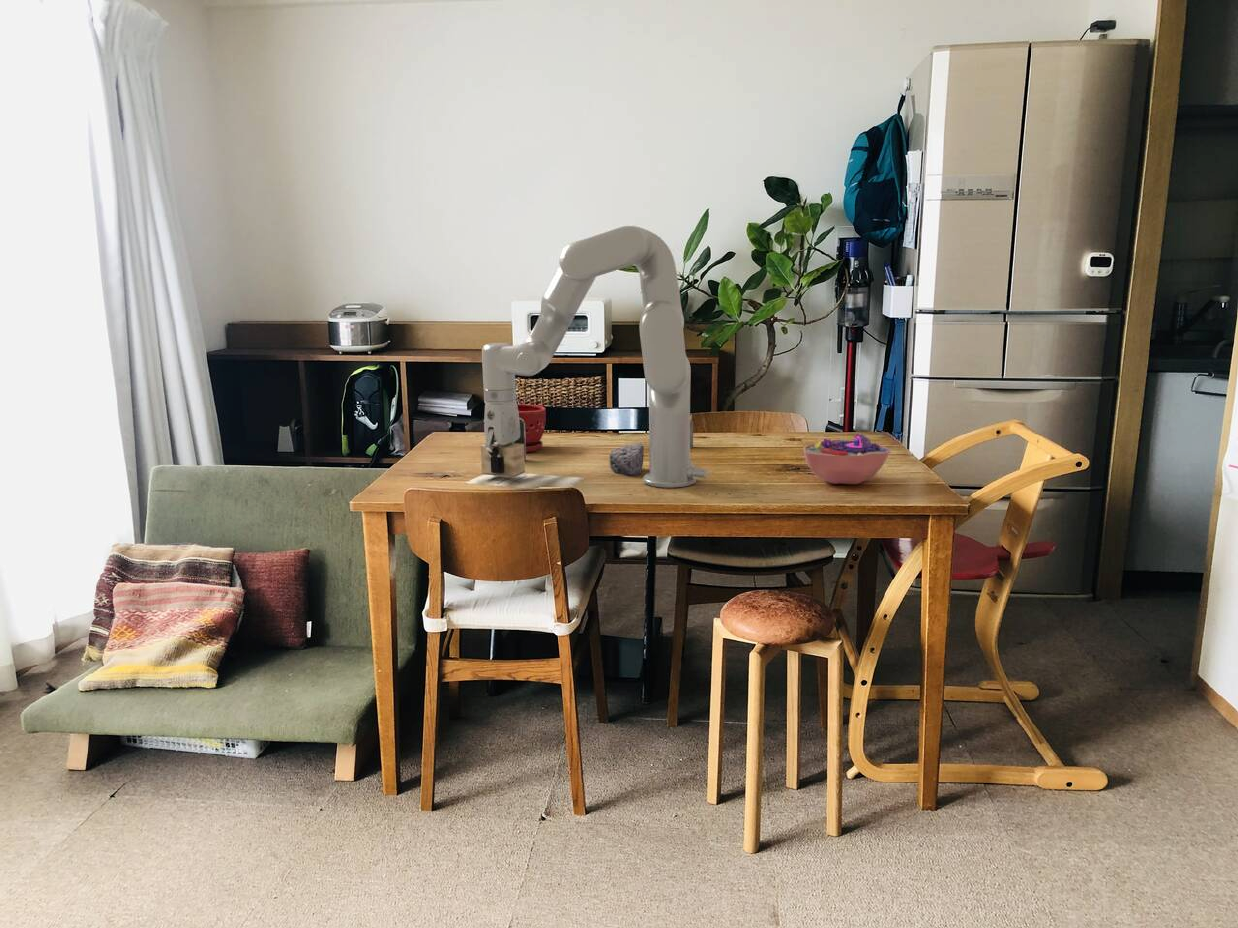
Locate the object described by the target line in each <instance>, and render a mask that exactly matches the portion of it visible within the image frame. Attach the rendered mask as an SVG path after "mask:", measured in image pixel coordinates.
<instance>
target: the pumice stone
mask: <svg viewBox="0 0 1238 928" xmlns="http://www.w3.org/2000/svg"><path fill="white" fill-rule="evenodd" d="M644 447H645V446H644V445H643V444H641V443H634V444H630V445H622V446H620V447H618V448H615V449H613V450H611V451H610V453H609V467H610V469H611V470H612V472H614V473H615V474H621V475H626V476H632V477H637V476H639V475H641V473H642V470H643V464H644V455H645V454H644Z"/></svg>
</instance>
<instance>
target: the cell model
mask: <svg viewBox="0 0 1238 928" xmlns="http://www.w3.org/2000/svg"><path fill="white" fill-rule="evenodd" d="M891 451H892V450H891V448H889V447H887V446H885V445H882V444H879V443H876V442H875V443H874V442H871V439H870V438H869V437H868V436H866V435H864V434H863V433H862V434H861V433H857V434H856V435H855V437H854V440H844V439H834V440H831V439H830V438H829V439H827V438H823V441H817V442H815V443H812V444H806V445H804V446H803V455H804V461H805V463H806V464H807V466H808V467H809V469H810V470H811V472H812V473H813V474H814V475H815V476H816V477H818V478H819V479H821V480H822V481H825V482H827V483H829V484H835V485H840V484H841V485H842V484H844V485H858V484H861V483H864V482H865V481H867V480H870V479H871V478H873V477H875V476H876V475H877V473H878V472H879V471H880V470H881V469H882V467H883V466H884V464H885V462H886V461H887V459H888V457H889V455H890V453H891Z"/></svg>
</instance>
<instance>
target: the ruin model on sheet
mask: <svg viewBox="0 0 1238 928" xmlns="http://www.w3.org/2000/svg"><path fill="white" fill-rule="evenodd" d="M692 418H693V414H690V450H691V449H693V447H694V421H693V420H692Z"/></svg>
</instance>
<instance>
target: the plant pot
mask: <svg viewBox="0 0 1238 928" xmlns="http://www.w3.org/2000/svg"><path fill="white" fill-rule="evenodd" d="M517 406H518V412H519V418H521V419H523V421H524V423H525V453H531V452H535V451H539V450H540V449H541V448H542V446H543V441H542V438H543V435H544V433H545V432H544V431H545V427H546V420H547V419H546V418H547V416H546V415H547V412H546V411H547V410H546V407H544V406H541V405H537V404H525V403H524V404H518V403H517Z"/></svg>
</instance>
